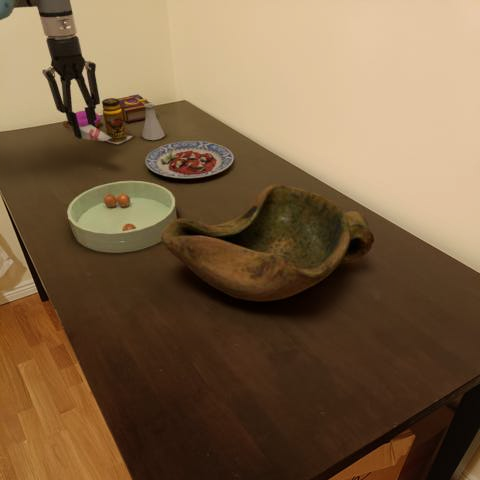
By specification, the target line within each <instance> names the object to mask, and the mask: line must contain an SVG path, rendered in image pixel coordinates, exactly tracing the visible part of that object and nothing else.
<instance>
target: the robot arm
mask: <svg viewBox="0 0 480 480" xmlns="http://www.w3.org/2000/svg"><path fill="white" fill-rule="evenodd" d="M34 7H35V8H37V11H38V15H39V19H40V22H41V26H42V30H43V34H44V36H45V37H46V39H45V40H46V45H47V48H48V52H49V56H50V58H51V61H50V66H49V67H48V68H47V69H42V74H43V76H44V77H45V79H46V80H47V82H48V86H49V90H50V92H51V95H52V98H53V101H54V104H55V108H56V110H57V111H58V112H60V113H62V114H65V116H66V121H68V124H69V125H70V126H73V130H74V131H73V130H72V131H73V134H74V137H75V138H77V139H78V140H81V139H82V134H81V132H80V128H79V124H78V120H77V116H76V112H74V111H73V102H72V101H73V100H72V91H71V89H72V88H71V85H72V80H75V81H76V84H77V86H78V88H79V91H80V93H81V95H82V98H83V100H84V102H85V106H86V107H84V111H85V112H86V116H87V120H88V125H90V124H91V125H92V126H94V127H95V128H97V127H96V126H95V122H94V121H95V120H96V119H97V118H96V113H97V112H96V109H97V105H100V104H101V100H100V93H99V89H98V88H99V87H98V82H97V78H96V77H97V75H96V68H97V65H96V63H95V62H93V61H90V60H86V59H85V57H83V53H82V48H81V43H80V38H79V36H77V33H78V29H77V26H76V21H75V17H74V16H75V15H74V13H73V8H72V4H71V0H0V21H2V20H4V19H7V18H8V17H10V16H11V14H13V11H14V10H15V9H16V8H34ZM84 70H85V71H86V77H87V83H88V86H87V84H86V79H85V77H84V75H83V71H84ZM55 73H57V75H59V81H60V83H61V91H60V89H59V85H58V83H57V80H56V74H55ZM88 87H89V89H88ZM61 92H62V95H61Z"/></svg>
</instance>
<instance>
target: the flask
mask: <svg viewBox="0 0 480 480" xmlns="http://www.w3.org/2000/svg"><path fill="white" fill-rule="evenodd" d="M144 107H145V109H146V119H144V124H143V129H142V133H141V134H142V135H141V137H142V138H143V139H145V140H149V141H156V140H160V139H163V138H164V137H165V136H166V134H165V131H164V130H163V128H162V126H161V124H160V122H159V120H158V117H157V115H156V111H155V107H156V104H155V103H152V102H151V103H150V102H149V103H148V104H145V105H144Z"/></svg>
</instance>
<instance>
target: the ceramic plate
mask: <svg viewBox="0 0 480 480" xmlns="http://www.w3.org/2000/svg"><path fill="white" fill-rule="evenodd" d="M233 162H234V154H233V152H232V151H231V150H229V148H227V147H225V146H224V145H220V144H217V143H214V142H209V141H202V140H201V141H200V140H185V141H177V142H172V143H168V144H167V143H166V144H164V145H161V146H159V147H157V148H154V149H153V150H152V151H150V152H149V153H148V155H147V156H146V157H145V165H146V167H147V168H148V169H149V170H150V171H151V172H153V173H155V174H157V175H159V176H162V177H167V178H171V179H172V178H173V179H182V180H186V179H199V178H201V179H202V178H205V177H210V176H215V175H216V174H219V173H222V172H223V171H226V170H227V169H228V168H229V167H230V166H232V164H233Z"/></svg>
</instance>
